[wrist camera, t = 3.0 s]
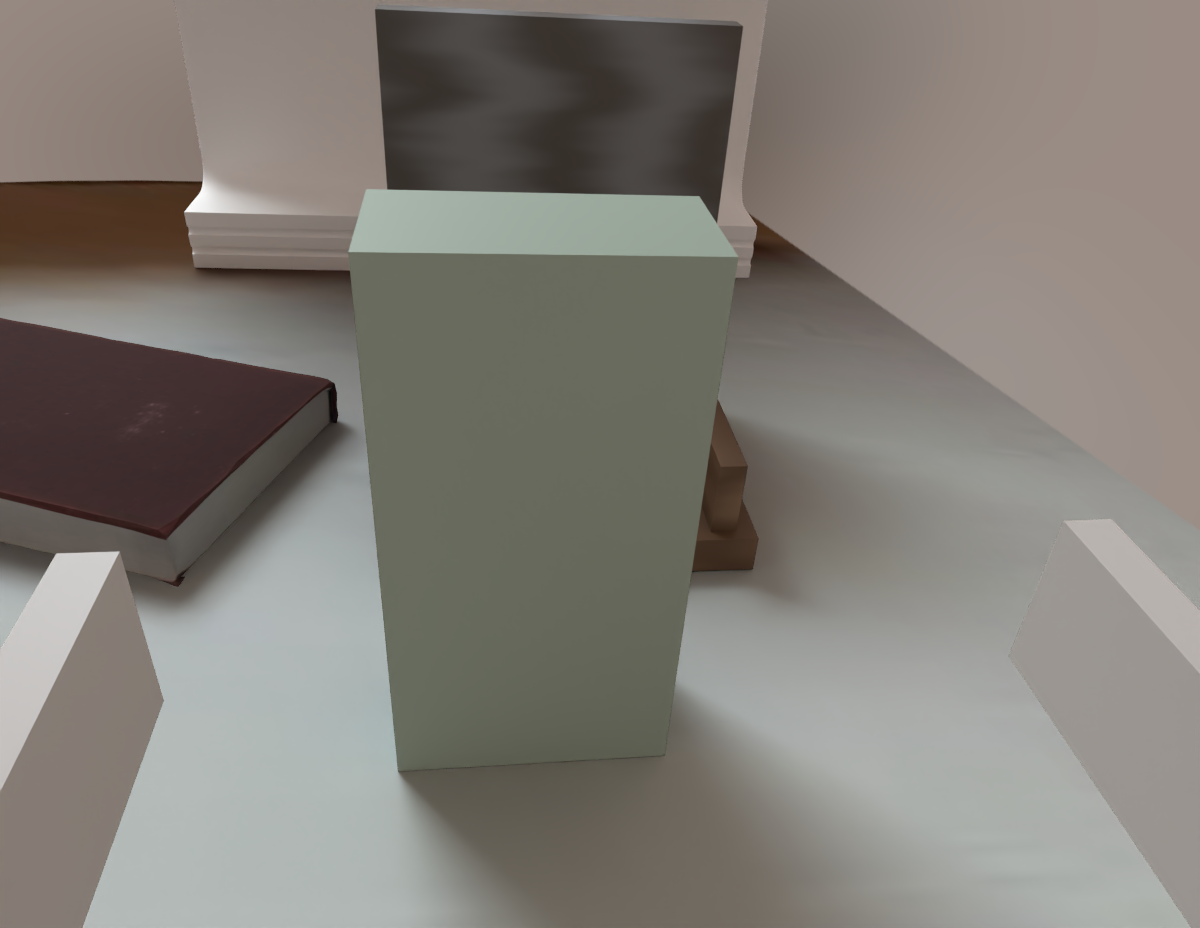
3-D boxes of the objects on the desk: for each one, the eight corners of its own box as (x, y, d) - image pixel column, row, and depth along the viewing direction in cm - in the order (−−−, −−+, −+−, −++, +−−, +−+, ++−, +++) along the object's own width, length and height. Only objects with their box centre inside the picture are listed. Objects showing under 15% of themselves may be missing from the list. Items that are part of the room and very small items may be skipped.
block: (723, 235, 68) (790, -247, 52) (748, 278, 61) (833, -259, 45) (226, 223, 64) (137, -302, 48) (194, 267, 57) (80, -324, 42)
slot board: (384, 581, 34) (337, 77, 24) (404, 403, 45) (377, 4, 35) (752, 568, 36) (845, 95, 26) (687, 401, 47) (735, 21, 37)
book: (-6, 360, 47) (-26, 300, 45) (343, 428, 44) (336, 366, 42) (-251, 497, 37) (-290, 428, 35) (180, 599, 34) (161, 528, 32)
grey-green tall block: (397, 771, 27) (348, 252, 18) (405, 670, 31) (366, 189, 22) (664, 755, 28) (738, 256, 19) (643, 660, 32) (699, 196, 23)
